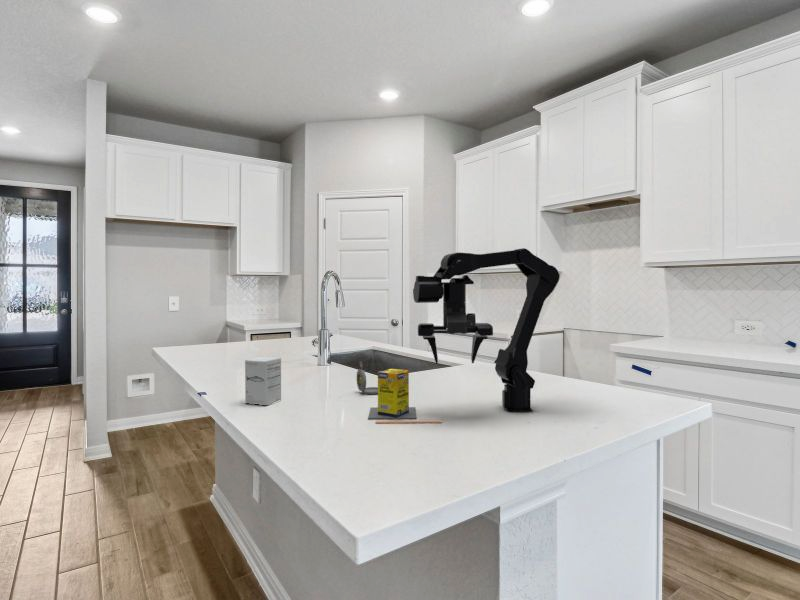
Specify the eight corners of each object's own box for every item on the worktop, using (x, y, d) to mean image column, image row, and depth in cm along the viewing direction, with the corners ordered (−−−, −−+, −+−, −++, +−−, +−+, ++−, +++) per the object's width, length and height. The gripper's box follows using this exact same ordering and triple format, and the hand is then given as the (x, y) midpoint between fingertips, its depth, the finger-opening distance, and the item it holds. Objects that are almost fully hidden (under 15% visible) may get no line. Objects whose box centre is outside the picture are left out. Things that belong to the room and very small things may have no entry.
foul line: (441, 421, 115) (441, 420, 115) (442, 423, 114) (442, 421, 114) (375, 422, 115) (375, 421, 115) (375, 423, 114) (375, 422, 114)
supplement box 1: (244, 404, 134) (243, 359, 133) (261, 398, 140) (260, 355, 140) (266, 406, 131) (265, 361, 130) (282, 400, 138) (281, 357, 137)
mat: (415, 408, 127) (415, 407, 127) (416, 419, 117) (416, 417, 117) (370, 408, 127) (370, 407, 127) (368, 419, 117) (368, 417, 117)
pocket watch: (387, 391, 148) (386, 359, 148) (371, 397, 141) (370, 363, 140) (366, 388, 152) (365, 357, 152) (349, 394, 145) (349, 361, 145)
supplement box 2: (397, 418, 117) (396, 373, 117) (377, 414, 120) (376, 371, 120) (409, 412, 122) (409, 370, 122) (390, 409, 125) (389, 368, 125)
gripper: (419, 303, 113) (419, 368, 114) (497, 303, 113) (497, 368, 114) (417, 302, 125) (417, 361, 125) (488, 301, 125) (488, 361, 125)
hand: (454, 363), depth 122 cm, fingers open, 9 cm apart
